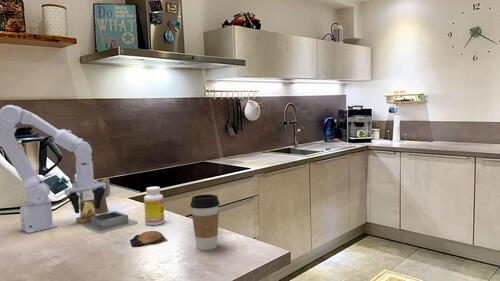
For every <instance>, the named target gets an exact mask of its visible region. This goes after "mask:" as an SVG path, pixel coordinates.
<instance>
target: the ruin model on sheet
mask: <svg viewBox="0 0 500 281" xmlns="http://www.w3.org/2000/svg"><path fill="white" fill-rule="evenodd" d="M99 183H106V191H105V197H106V198H108V196H109V194H110V193H111V186H110V183H111V182H110V178H108V177H106V178H103V179H101V180H100V182H99Z"/></svg>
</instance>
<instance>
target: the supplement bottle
mask: <svg viewBox="0 0 500 281" xmlns="http://www.w3.org/2000/svg"><path fill="white" fill-rule="evenodd" d="M145 192H146V194H145V196H144V197H143V200H144V202H143V204H144V220H145V224H146V225H147V226H157V225H162V224H163V223H164V222H165V208H164V207H165V206H164V196H163V194H161V193H160V192H161V187H160V186H150V187H149V186H148V187H146V191H145Z"/></svg>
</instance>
